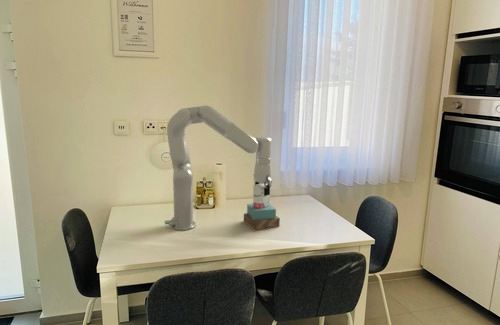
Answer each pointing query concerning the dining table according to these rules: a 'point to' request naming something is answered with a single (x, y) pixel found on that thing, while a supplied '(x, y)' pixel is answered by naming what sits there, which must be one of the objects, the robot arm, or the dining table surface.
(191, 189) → the robot arm
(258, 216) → the teal top block
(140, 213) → the dining table surface
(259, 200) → the ink box
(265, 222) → the walnut base block
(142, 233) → the dining table surface
